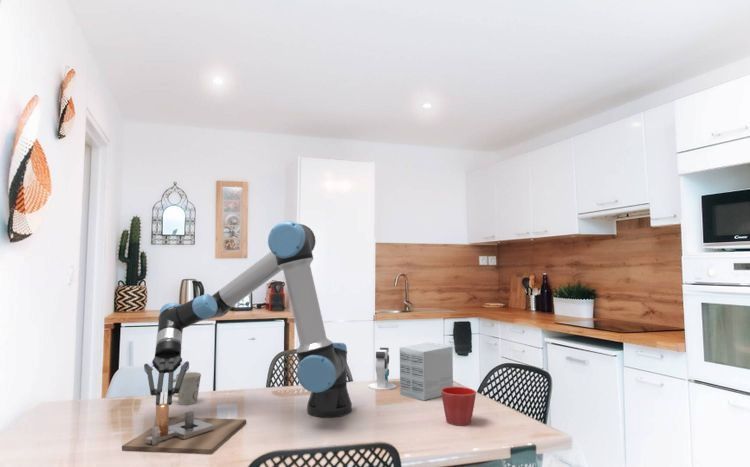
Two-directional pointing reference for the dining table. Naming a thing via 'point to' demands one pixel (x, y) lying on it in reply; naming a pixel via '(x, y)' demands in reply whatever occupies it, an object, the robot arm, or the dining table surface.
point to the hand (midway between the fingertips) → (162, 415)
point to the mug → (188, 388)
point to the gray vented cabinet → (425, 370)
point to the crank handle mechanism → (175, 426)
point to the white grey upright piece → (382, 371)
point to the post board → (194, 444)
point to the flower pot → (458, 404)
